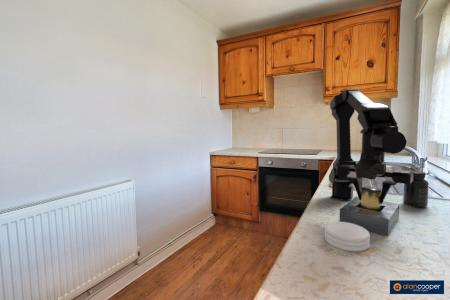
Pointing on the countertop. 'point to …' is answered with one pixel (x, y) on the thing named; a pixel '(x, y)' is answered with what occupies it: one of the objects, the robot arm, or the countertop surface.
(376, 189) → the tan cylinder
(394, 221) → the housing
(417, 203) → the supplement bottle
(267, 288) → the countertop surface
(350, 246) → the white flat disc stack
